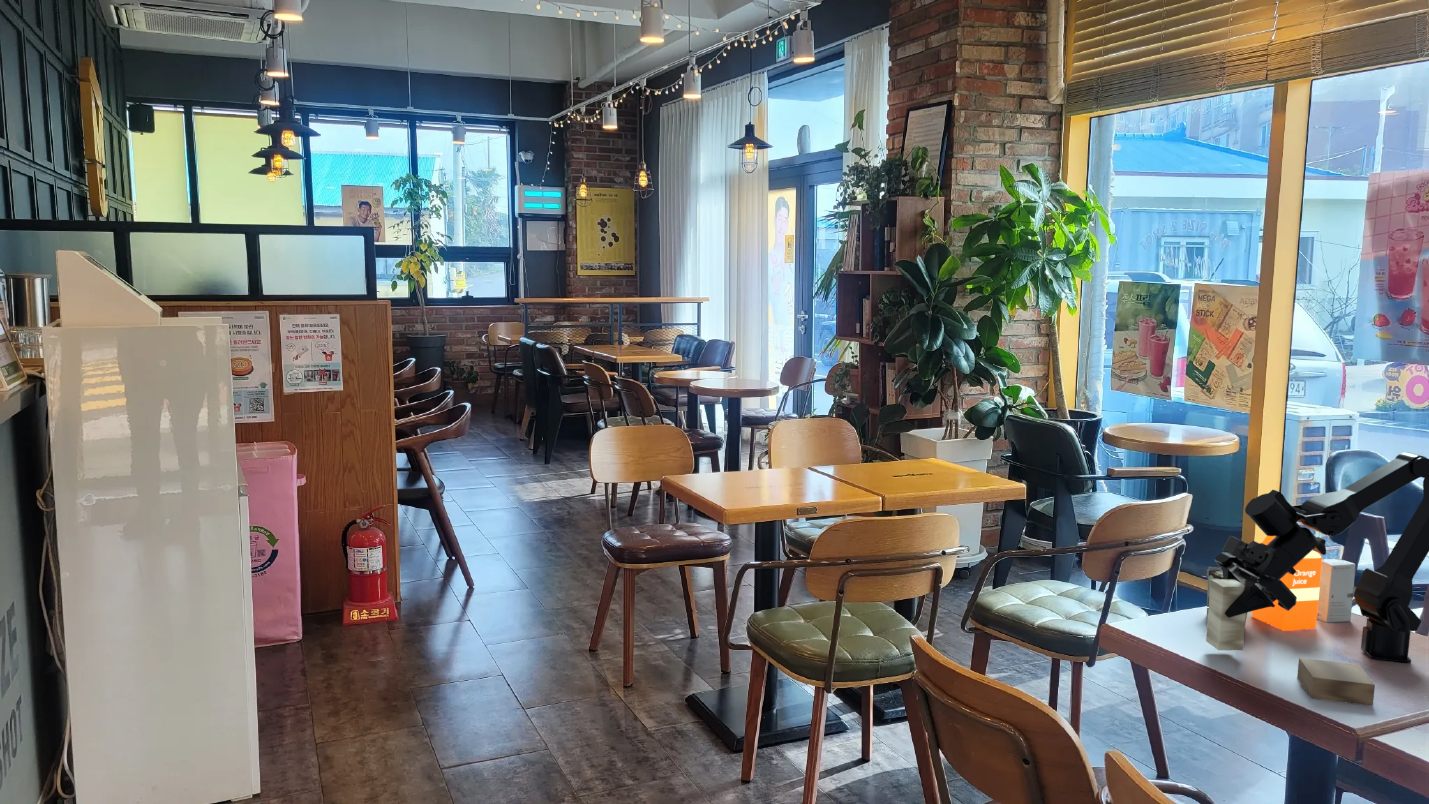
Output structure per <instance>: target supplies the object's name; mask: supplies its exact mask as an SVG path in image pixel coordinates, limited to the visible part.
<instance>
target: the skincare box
mask: <svg viewBox="0 0 1429 804" xmlns="http://www.w3.org/2000/svg"><path fill="white" fill-rule="evenodd" d="M1355 575H1356V564H1355V563H1354V562H1350V561H1347V560H1344V559H1340V558H1334V559H1333V558H1325V559H1322V565H1321V576H1320V586H1319V587H1320V590H1319V600H1318V608H1317V619H1318V620H1319V621H1322V622H1325V623H1335V622H1336V623H1337V622H1339V623H1341V622H1350V621H1351V619H1352V611H1353V610H1352V608H1353V598H1354V587H1355V586H1354V585H1355ZM1317 619H1316V620H1317Z"/></svg>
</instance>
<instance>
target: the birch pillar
mask: <svg viewBox="0 0 1429 804" xmlns="http://www.w3.org/2000/svg"><path fill="white" fill-rule="evenodd" d="M1244 589H1245V585H1244V584H1242V583H1240V582H1238V581H1236V580H1235V579H1211V581H1210V595H1209V608H1208V616H1207V621H1206V623H1207V625H1206V636H1205V641H1206V643H1208V644H1209V645H1210V646H1212V647H1214V649H1216V650H1217V651H1243V650H1244V642H1245V641H1244V640H1245V639H1244V638H1245V626H1246V623H1245V617H1246V613H1244V614H1240V615H1237V616H1233V617H1230V618H1229V617H1227V616H1226V615H1225V612H1226V610H1227V609H1228V608H1229V607H1230V606H1231V604H1232V603H1233V602H1234V601H1235V600H1236V599H1237V598H1238V597H1239V596H1240V595H1241V594H1242V593H1243V591H1244ZM1246 618H1247V617H1246Z"/></svg>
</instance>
